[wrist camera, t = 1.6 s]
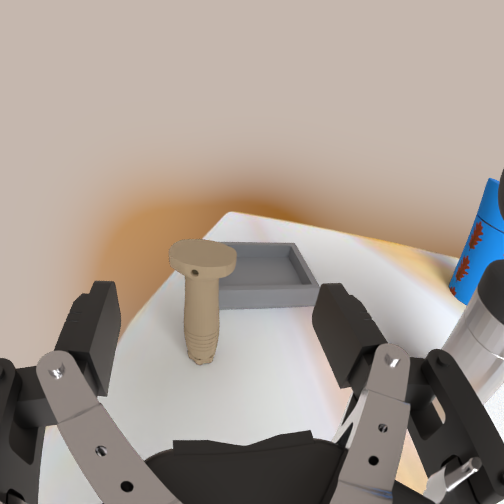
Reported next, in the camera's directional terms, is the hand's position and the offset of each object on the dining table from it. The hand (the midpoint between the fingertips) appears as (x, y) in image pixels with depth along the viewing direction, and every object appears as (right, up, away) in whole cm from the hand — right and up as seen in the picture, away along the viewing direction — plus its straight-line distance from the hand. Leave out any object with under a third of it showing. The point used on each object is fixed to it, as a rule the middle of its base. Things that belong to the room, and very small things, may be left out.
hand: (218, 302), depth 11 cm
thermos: (+49, -8, +42) cm, 65 cm away
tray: (+2, -3, +40) cm, 40 cm away
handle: (-5, -11, +25) cm, 27 cm away
